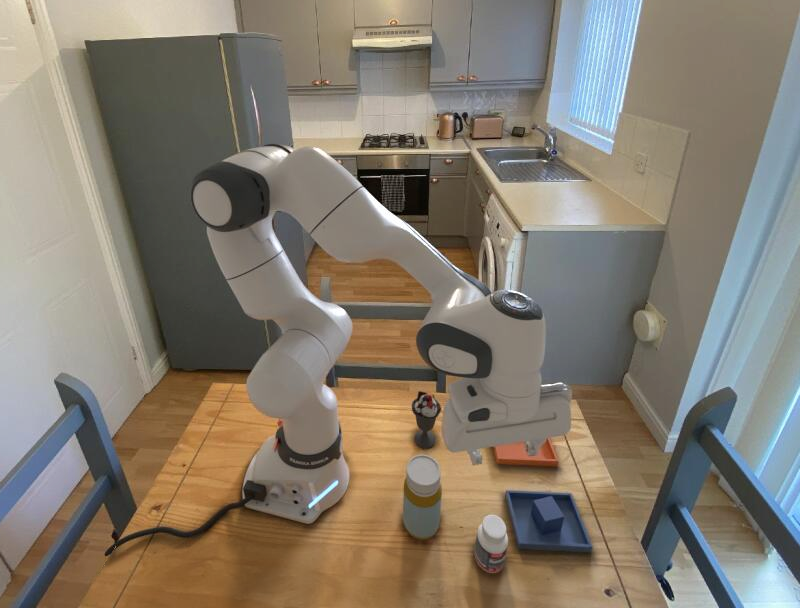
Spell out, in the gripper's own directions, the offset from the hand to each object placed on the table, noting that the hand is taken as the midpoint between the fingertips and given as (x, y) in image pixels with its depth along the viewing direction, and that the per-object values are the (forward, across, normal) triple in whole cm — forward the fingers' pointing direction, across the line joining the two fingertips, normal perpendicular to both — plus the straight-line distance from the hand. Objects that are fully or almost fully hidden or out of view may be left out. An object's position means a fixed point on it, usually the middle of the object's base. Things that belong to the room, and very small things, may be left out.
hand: (503, 456), depth 69 cm
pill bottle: (+24, +2, +1) cm, 24 cm away
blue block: (+23, -11, -3) cm, 26 cm away
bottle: (+23, +13, -6) cm, 27 cm away
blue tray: (+24, -11, -3) cm, 26 cm away
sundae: (+22, +7, -25) cm, 34 cm away
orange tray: (+23, -14, -20) cm, 34 cm away
